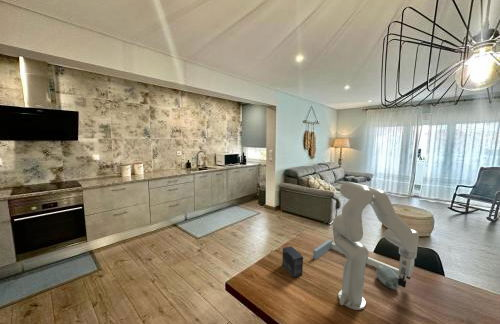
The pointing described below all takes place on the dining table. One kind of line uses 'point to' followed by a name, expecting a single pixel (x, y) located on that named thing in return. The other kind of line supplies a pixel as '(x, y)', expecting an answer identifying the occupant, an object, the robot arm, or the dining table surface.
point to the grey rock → (387, 277)
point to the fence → (331, 245)
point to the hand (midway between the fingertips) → (404, 281)
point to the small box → (292, 261)
